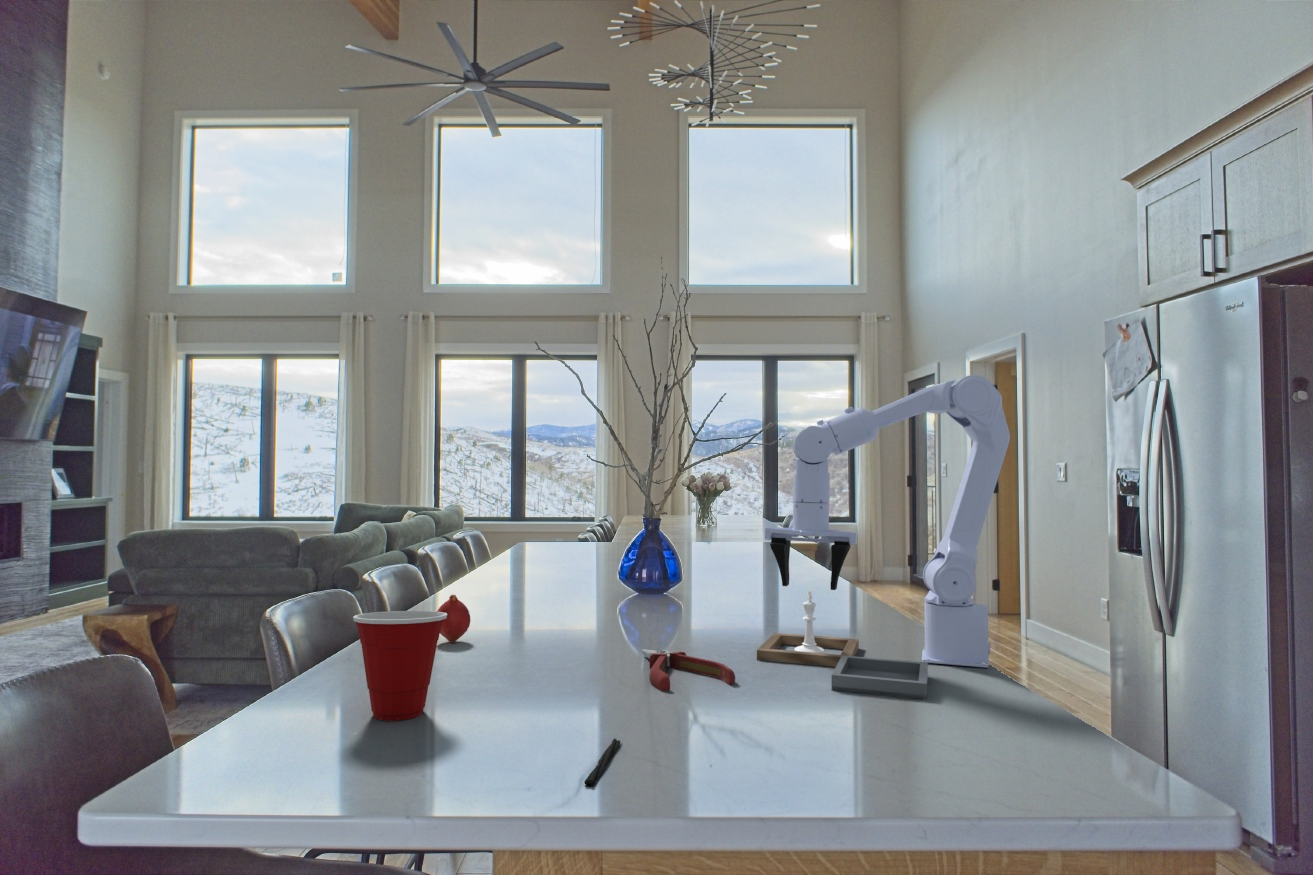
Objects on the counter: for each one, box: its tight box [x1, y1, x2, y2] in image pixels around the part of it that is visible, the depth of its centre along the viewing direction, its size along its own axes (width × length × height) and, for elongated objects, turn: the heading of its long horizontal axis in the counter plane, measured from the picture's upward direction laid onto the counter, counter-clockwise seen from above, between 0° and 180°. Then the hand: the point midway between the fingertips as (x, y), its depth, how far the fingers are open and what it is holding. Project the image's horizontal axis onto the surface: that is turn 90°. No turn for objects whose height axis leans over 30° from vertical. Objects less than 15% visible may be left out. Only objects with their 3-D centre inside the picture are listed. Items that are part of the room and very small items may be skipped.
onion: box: [436, 594, 472, 643], centre depth 134 cm, size 6×6×8 cm
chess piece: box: [793, 590, 826, 654], centre depth 127 cm, size 5×5×10 cm
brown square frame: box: [756, 632, 860, 668], centre depth 127 cm, size 14×14×2 cm
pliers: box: [640, 648, 736, 692], centre depth 116 cm, size 12×20×3 cm, turn 20°
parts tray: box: [831, 655, 929, 700], centre depth 110 cm, size 12×12×2 cm
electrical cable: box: [583, 736, 622, 788], centre depth 79 cm, size 12×1×1 cm, turn 170°
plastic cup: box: [352, 610, 447, 722], centre depth 95 cm, size 11×11×12 cm
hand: (809, 587), depth 127 cm, fingers open, 7 cm apart
